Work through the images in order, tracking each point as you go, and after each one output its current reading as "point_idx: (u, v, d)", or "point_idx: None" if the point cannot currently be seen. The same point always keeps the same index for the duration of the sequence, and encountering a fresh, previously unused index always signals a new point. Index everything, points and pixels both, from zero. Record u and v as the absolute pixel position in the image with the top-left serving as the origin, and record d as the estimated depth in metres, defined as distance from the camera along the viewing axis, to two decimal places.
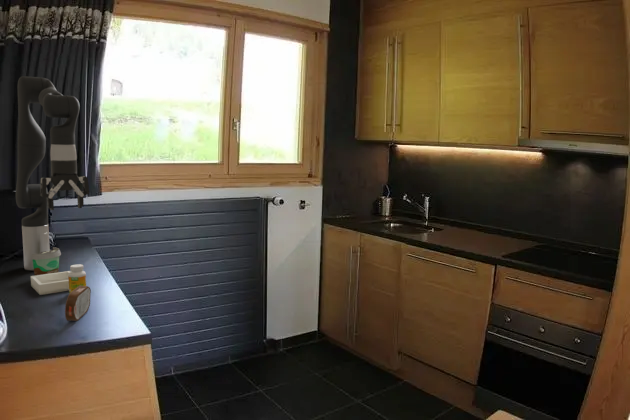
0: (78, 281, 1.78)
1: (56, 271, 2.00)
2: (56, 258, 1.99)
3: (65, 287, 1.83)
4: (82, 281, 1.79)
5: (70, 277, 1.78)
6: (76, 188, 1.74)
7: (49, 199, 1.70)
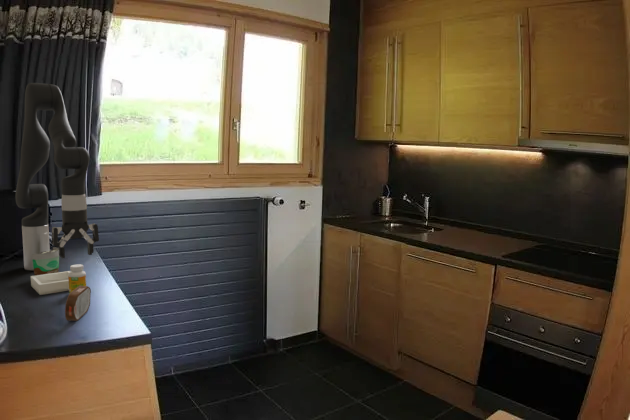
0: (78, 281, 1.78)
1: (56, 271, 2.00)
2: (56, 258, 1.99)
3: (65, 287, 1.83)
4: (82, 281, 1.79)
5: (70, 277, 1.78)
6: (86, 236, 1.79)
7: (60, 248, 1.75)
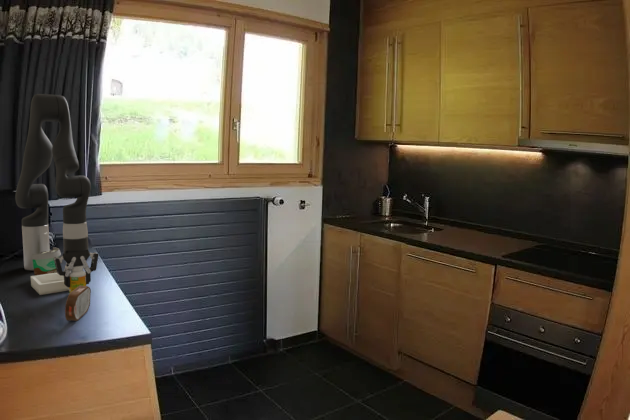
0: (78, 281, 1.78)
1: (56, 271, 2.00)
2: None
3: (65, 287, 1.83)
4: (82, 281, 1.79)
5: (70, 277, 1.78)
6: (85, 264, 1.80)
7: (66, 277, 1.77)
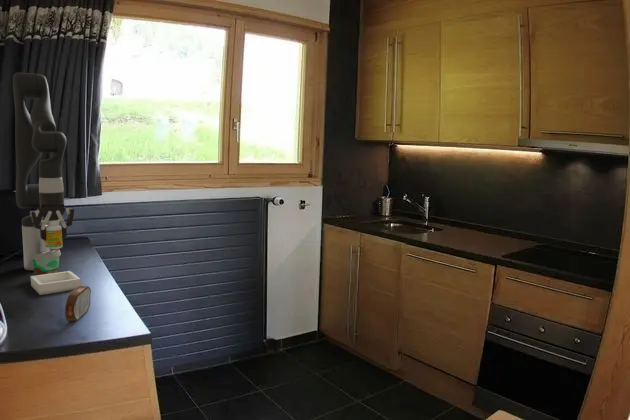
0: (54, 234, 1.83)
1: (56, 271, 2.00)
2: (56, 258, 1.99)
3: (65, 287, 1.83)
4: (58, 235, 1.84)
5: (46, 230, 1.83)
6: (61, 219, 1.84)
7: (42, 230, 1.82)
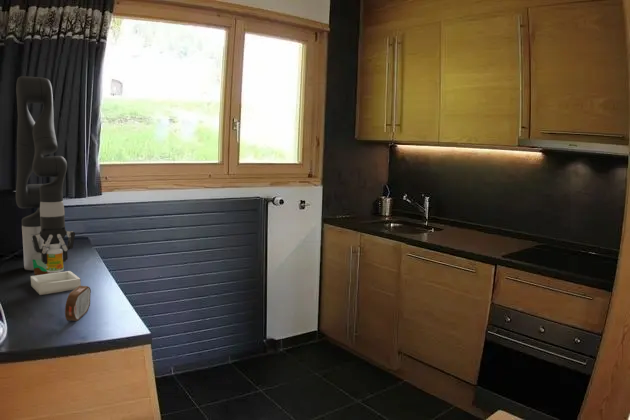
0: (55, 258, 1.84)
1: None
2: None
3: (65, 287, 1.83)
4: (59, 258, 1.85)
5: (47, 254, 1.84)
6: (62, 242, 1.86)
7: (43, 254, 1.83)
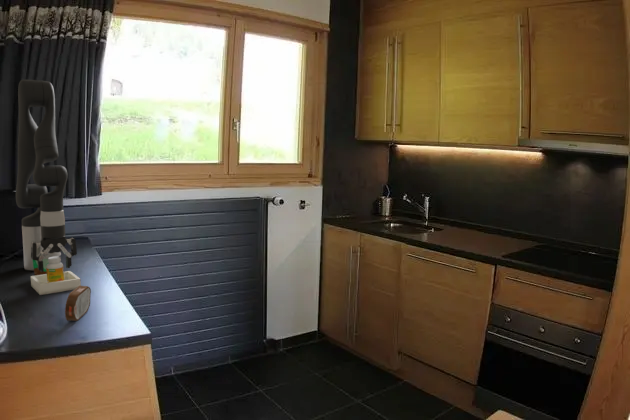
0: (55, 272, 1.85)
1: None
2: None
3: (65, 287, 1.83)
4: (60, 272, 1.86)
5: (47, 268, 1.84)
6: (64, 250, 1.86)
7: (39, 262, 1.83)
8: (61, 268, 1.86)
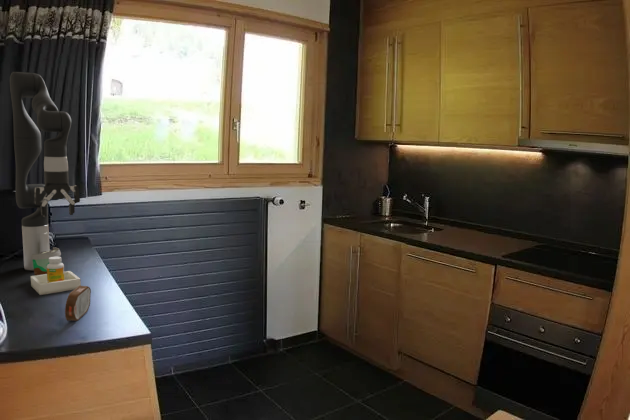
0: (56, 272, 1.85)
1: None
2: None
3: (65, 287, 1.83)
4: (60, 273, 1.86)
5: (48, 268, 1.84)
6: (67, 197, 1.88)
7: (42, 207, 1.84)
8: (61, 268, 1.86)
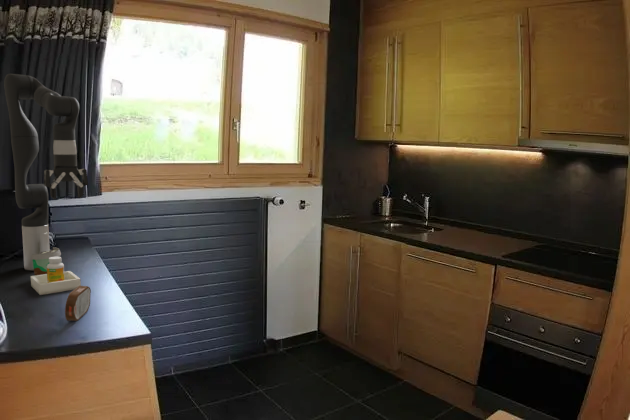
0: (56, 272, 1.85)
1: None
2: None
3: (65, 287, 1.83)
4: (60, 273, 1.86)
5: (48, 268, 1.85)
6: (76, 179, 1.93)
7: (52, 189, 1.90)
8: (61, 268, 1.86)
